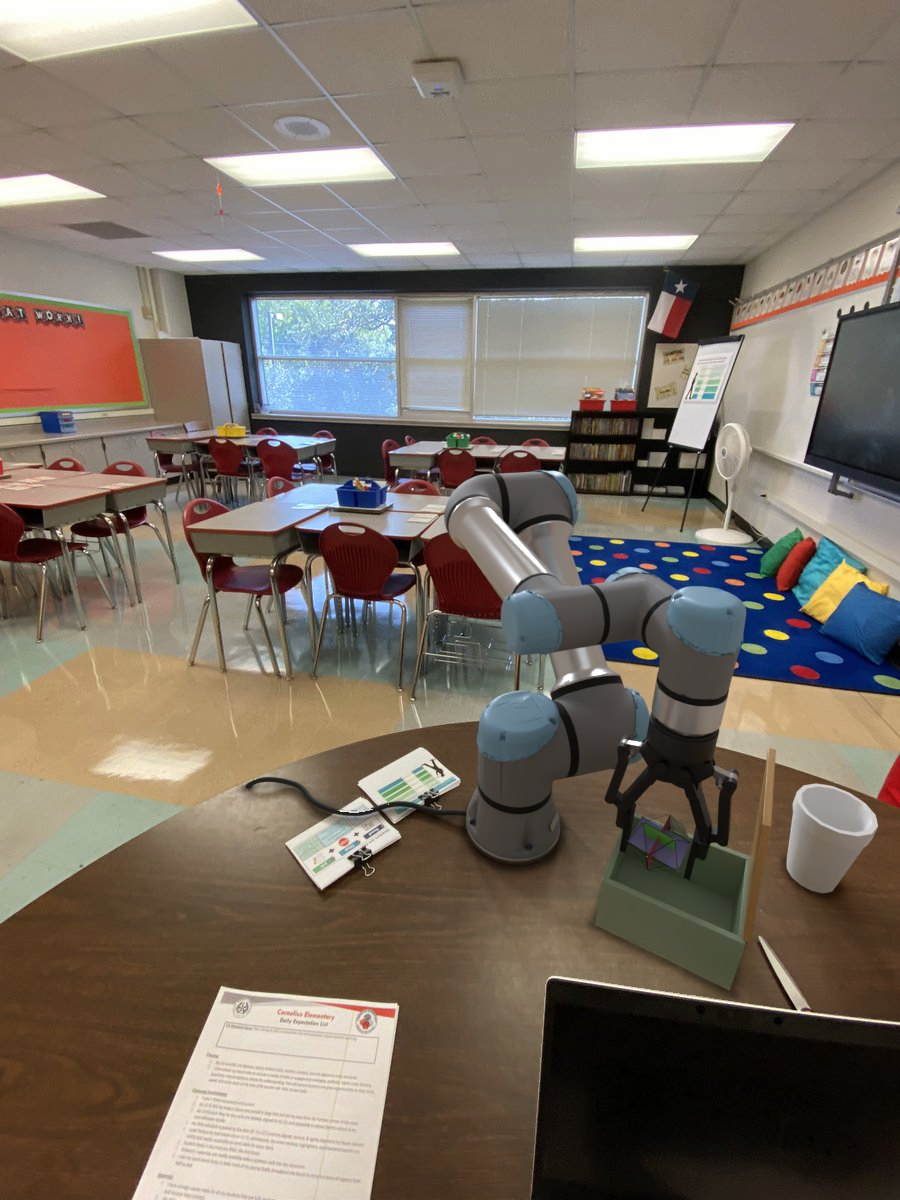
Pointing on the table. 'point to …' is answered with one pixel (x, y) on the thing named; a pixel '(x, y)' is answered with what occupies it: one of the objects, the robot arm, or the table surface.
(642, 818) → the geometric puzzle
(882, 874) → the table surface
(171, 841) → the table surface
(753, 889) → the lid
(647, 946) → the chest
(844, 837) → the foam cup
